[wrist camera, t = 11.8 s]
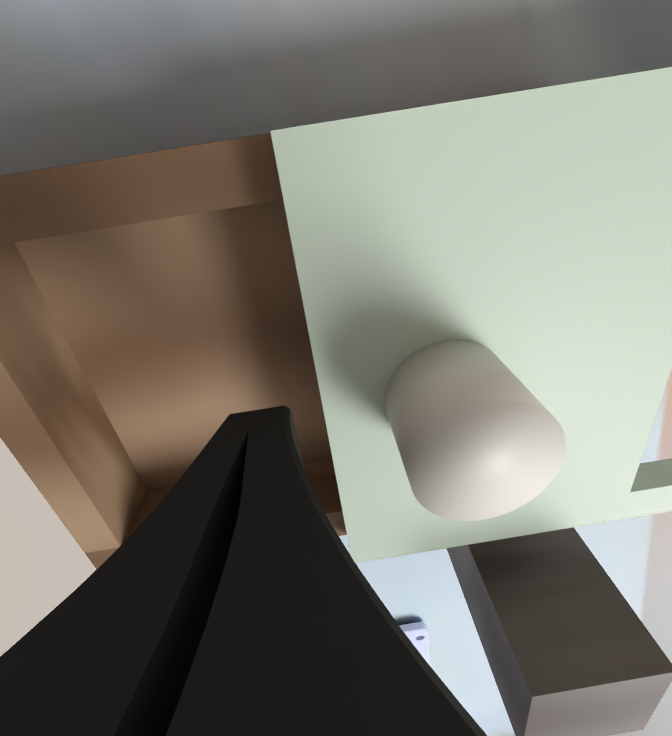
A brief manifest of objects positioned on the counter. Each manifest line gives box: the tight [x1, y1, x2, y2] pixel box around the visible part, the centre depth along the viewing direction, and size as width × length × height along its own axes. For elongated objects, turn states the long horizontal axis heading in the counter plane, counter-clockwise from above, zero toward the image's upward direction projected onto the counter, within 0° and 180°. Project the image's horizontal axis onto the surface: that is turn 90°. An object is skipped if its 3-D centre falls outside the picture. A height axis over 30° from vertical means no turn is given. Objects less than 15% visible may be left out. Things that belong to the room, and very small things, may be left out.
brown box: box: [0, 133, 347, 569], centre depth 12 cm, size 12×16×4 cm
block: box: [447, 527, 672, 736], centre depth 15 cm, size 4×4×8 cm
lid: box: [270, 67, 672, 563], centre depth 9 cm, size 12×16×4 cm
